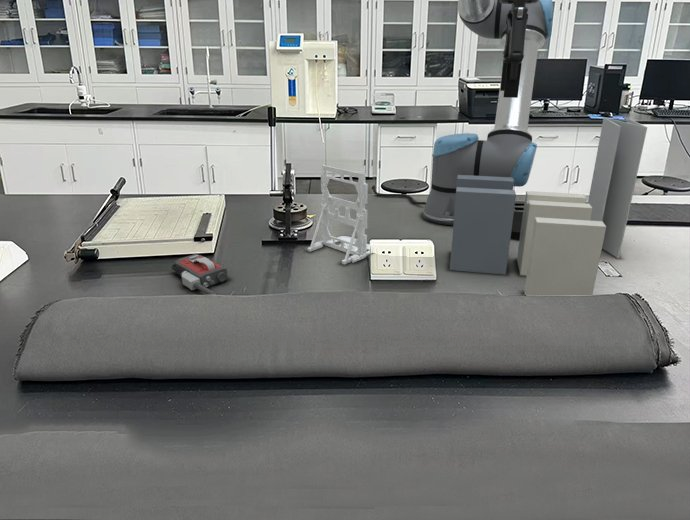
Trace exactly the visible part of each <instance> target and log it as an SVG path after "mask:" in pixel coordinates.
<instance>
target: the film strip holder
mask: <svg viewBox="0 0 690 520" xmlns="http://www.w3.org/2000/svg"><path fill="white" fill-rule="evenodd" d="M328 172H332V174H331V175H332V176H331V175H328ZM335 174H339V176H340V177H335ZM366 175H367V174H366V173H365V172H357V171H353V170H349V169H344V168H339V167H334V166H329V165H326V164H321V173H320V192H321V193H322V194H321V195H322V197H321V198H320V203H321V204H320V210H321V211H320V215H319V217H318V221H317V224H316V227H315V230H314V233H313V236H312V239H311V243H310V245H309V246H308V247H307V249H306V250H307V252H309V253H311V252H314V251H316V250H319V249H322V248H324V246H327V247H329V248H332V249H334V250H337V251H341V252H343V253H345V256H344V259H342V260H341V264H342V265H344V266H345V265H348V264H350V263H352V264H354V263H357V262H359V261H361V260H364V259H366V257H368V256H370V255H371V254H370V244H371V243H368V235H367V234H366V232H365V231H366V230H367V229H368V209H366V205H367V204H368V201H369V200H368V196H369V193H368V191H369V188H368V187H369V184H368V183H366ZM344 176H348V177H349V179H344ZM353 177H354V178H358V180H357V182H356V181H353ZM330 180H333V181H337V182H342V183H345V184H349V185H354V187H355V190H356V193H357V197H356V199H355V202H354V201H349V200H346V199H343V198H338V197H335V196H331V195H330V191H329V188H328V185H329V183H330ZM330 204H333V206H334V213H332V212H330ZM340 207H344V211H345V212H344V213H345V214H344V215H340V214H341V213H340ZM351 210H353V211H355V213H356V214H355V219H353V218H351ZM330 221H334V222H337V223H340V224H343V225H347V226H350V227H353V228H354V229H353V233H352V234H351V236H347V235H346V236H344V235H341V236H338V237H336V236H332V235H331V233H330V230H329V227H328V226H329V224H330ZM320 226H321V239H322V240H320V241H316V239H317V235H318V233H319V229H320ZM356 236H357V238H356ZM339 242H340V244H336V243H339Z"/></svg>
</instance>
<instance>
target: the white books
mask: <svg viewBox="0 0 690 520" xmlns="http://www.w3.org/2000/svg"><path fill="white" fill-rule="evenodd" d="M587 200H588V197H587V196H586V195H585V194H584V193H572V192H568V193H567V192H554V191H553V192H551V191H533V190H532V191H531V190H530V191H529V190H526V191H525V197H524V204H523V211H522V212H523V218H522V226H521V233H520V240H518V247H517V248H518V249H517V257H516V261H517V266H518V267H517V268H518V271H519V276H525V277H527V270H528V264H529V257H530V250H531V243H532V236H533V229H534V222H535V217H540V218H556V219H572V220H588V221H590V218H591V213H592V207H591V205H590V204H588V203H587Z"/></svg>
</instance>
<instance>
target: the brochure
mask: <svg viewBox="0 0 690 520" xmlns="http://www.w3.org/2000/svg"><path fill="white" fill-rule="evenodd" d="M647 132H648V127H647V126H646V125H644V124H642V123H639V122H638V121H635V120H633V119H631V118H629V117H627V118H626V121H622V120H618V119H614V118H609V117H603V119H602V125H601V130H600V134H599V141H598V145H597V151H596V156H595V161H594V168H593V173H592V179H591V184H590V188H589V189H590V190H589V194H588V198H587V200H588V201H587V204H590V205H591V207H592V213H591V218H590V221H602V222H603V223H604V224H605V226H606V230H605V235H604V240H603V245H602V250H604V251H605V252H607V253H608V254H610V255H612V256H613V257H615V258H617V259H619V258H620V257H621V251H622V245H623V242H624V237H625V232H626V228H627V223H628V218H629V214H630V209H631V204H632V200H633V196H634V191H635V187H636V181H637V178H638V173H639V168H640V164H641V159H642V154H643V149H644V145H645V140H646V135H647Z"/></svg>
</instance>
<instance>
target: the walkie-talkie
mask: <svg viewBox="0 0 690 520" xmlns="http://www.w3.org/2000/svg"><path fill="white" fill-rule="evenodd" d="M171 269H172V270H173V271H175V273H176V274H177V275H178V276H180V277H181V283H182V285H184V286H185V287H186V288H188V289H189V290H190V291H194V290H198V291H200V292H202V293H204V294H206V295H207V294H216V295H218V296H219V294H218V293H216V292H214V291H212V290H211V289H209V287H212V286H214V285H215V286H216V285H218V284H220V283H223V282H226V281H228V268H227V267H225V266H223V265H221V264H219V263H217V262H215V261H213V260H211V259H210V258H207V257H205V256H204V255H201V254H197V253H195V254H191V255H187V256H184V257H181V258H178V259H176V260H175V263H174V264H171Z"/></svg>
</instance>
